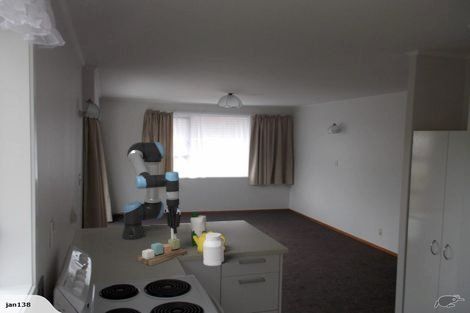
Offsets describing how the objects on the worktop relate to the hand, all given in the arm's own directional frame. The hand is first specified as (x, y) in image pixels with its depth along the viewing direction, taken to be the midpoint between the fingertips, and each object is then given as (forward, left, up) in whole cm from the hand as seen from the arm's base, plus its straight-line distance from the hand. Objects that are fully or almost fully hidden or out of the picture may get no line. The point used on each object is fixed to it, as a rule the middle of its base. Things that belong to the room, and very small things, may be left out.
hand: (173, 239), depth 214 cm
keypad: (0, -9, -9) cm, 12 cm away
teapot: (+14, +15, -9) cm, 22 cm away
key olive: (0, 0, -5) cm, 5 cm away
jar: (+29, +3, -9) cm, 30 cm away
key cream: (0, -18, -7) cm, 19 cm away
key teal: (0, -12, -5) cm, 13 cm away
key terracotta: (0, -6, -8) cm, 10 cm away
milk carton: (0, +20, -9) cm, 22 cm away
